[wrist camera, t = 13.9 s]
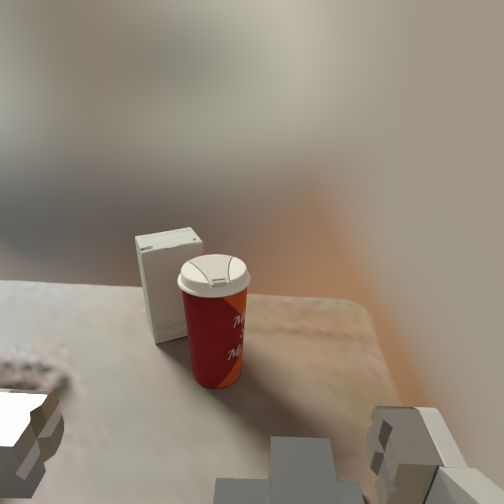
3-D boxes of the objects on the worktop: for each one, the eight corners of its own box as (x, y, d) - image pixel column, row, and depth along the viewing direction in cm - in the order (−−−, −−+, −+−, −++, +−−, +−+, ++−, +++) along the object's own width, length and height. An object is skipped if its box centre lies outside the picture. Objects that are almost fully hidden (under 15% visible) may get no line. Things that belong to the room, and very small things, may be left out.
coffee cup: (256, 389, 46) (259, 280, 40) (188, 402, 44) (180, 289, 38) (240, 346, 53) (240, 248, 47) (181, 355, 51) (173, 255, 45)
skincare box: (198, 312, 61) (193, 225, 55) (209, 333, 56) (206, 240, 50) (144, 323, 58) (133, 233, 52) (152, 347, 53) (140, 250, 47)
